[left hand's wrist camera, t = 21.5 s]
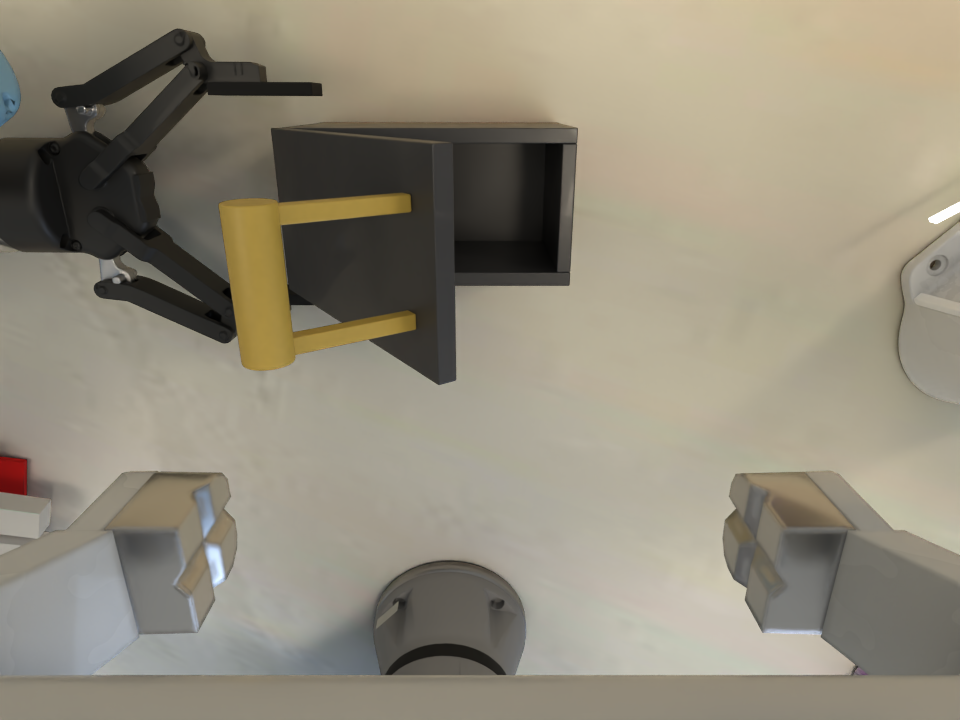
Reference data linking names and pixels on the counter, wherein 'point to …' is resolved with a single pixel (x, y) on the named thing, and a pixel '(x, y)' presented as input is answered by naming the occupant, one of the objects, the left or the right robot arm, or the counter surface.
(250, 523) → the counter surface
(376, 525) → the counter surface
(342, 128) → the chest
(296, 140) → the lid
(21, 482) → the toy
